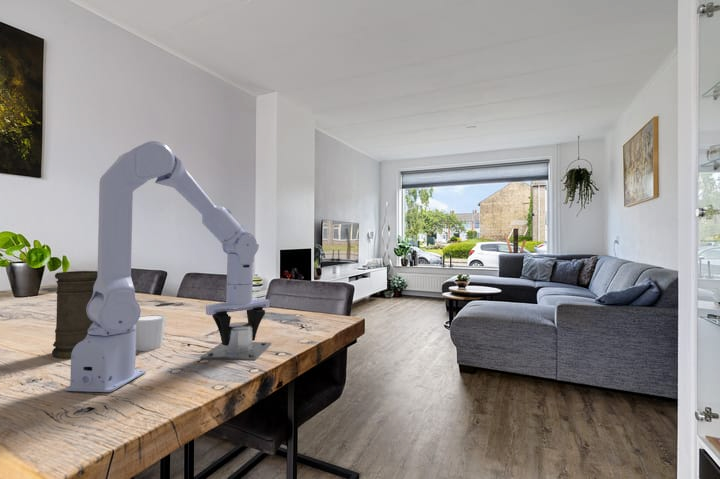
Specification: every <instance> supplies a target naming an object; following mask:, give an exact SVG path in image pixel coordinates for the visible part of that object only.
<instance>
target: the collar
mask: <svg viewBox="0 0 720 479" xmlns="http://www.w3.org/2000/svg"><path fill="white" fill-rule="evenodd" d="M252 329H253V327H252V324H251V323H248V321H245V322H242V321H241V322H240V321H239V322H238V321H237V322H230V326H229V344H228V345H227V346H225V350H226V351H227V352H230V353H241V352H247V351H249V350H251V349H252V342H253V341H252Z"/></svg>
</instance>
